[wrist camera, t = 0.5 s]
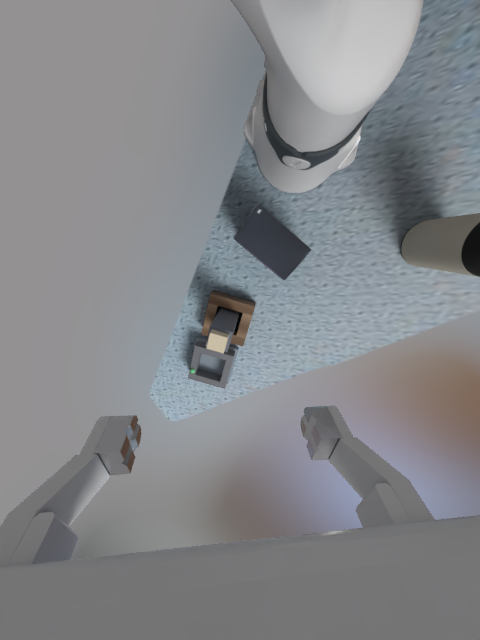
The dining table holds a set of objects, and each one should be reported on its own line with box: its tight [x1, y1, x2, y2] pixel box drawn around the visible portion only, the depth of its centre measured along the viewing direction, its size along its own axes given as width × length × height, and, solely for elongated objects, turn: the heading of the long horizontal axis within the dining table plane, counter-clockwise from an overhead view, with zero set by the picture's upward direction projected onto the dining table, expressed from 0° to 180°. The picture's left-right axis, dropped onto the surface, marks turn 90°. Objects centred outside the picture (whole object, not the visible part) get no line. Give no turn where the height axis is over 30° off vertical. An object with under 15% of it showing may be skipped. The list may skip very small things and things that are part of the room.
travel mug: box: [401, 213, 480, 277], centre depth 31 cm, size 8×8×18 cm
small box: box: [234, 203, 311, 280], centre depth 37 cm, size 11×6×10 cm, turn 52°
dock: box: [188, 336, 238, 389], centre depth 50 cm, size 10×10×4 cm
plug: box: [205, 307, 240, 353], centre depth 42 cm, size 4×4×14 cm
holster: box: [202, 291, 255, 346], centre depth 46 cm, size 9×9×3 cm
